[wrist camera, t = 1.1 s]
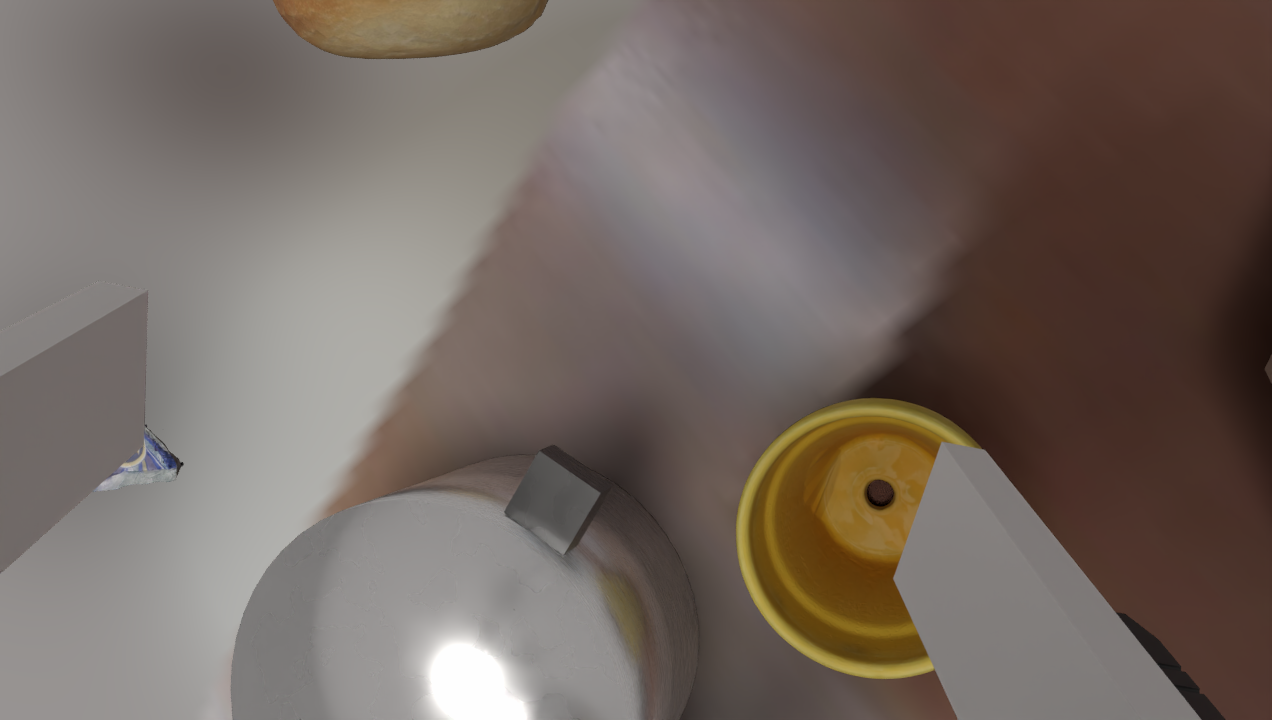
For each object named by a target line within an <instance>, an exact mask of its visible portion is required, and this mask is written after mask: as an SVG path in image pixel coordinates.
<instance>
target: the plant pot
mask: <svg viewBox="0 0 1272 720" xmlns="http://www.w3.org/2000/svg"><path fill="white" fill-rule="evenodd" d="M941 442H946V443H952V444H957V445H962V446H967V447H973V448H978V449H982V448H981V447H980V446H979V445H978V444H977V443H976V442H975V441H974V440H973V439H972V438H971V437H970V436H969V435H968V434H967V433H966V432H965V431H964V430H962V429H961V428H960V427H959V426H957V425H956V424H955V423H953V422H952V421H950V420H949V419H947V418H945V417H944V416H942V415H940V414H938V413H936V412H934V411H932V410H930V409H927V408H925V407H922V406H919V405H916V404H913V403H909V402H905V401H900V400H894V399H883V398H864V399H855V400H848V401H844V402H840V403H836V404H833V405H830V406H827V407H825V408H822V409H820V410H817V411H815V412H813V413H811V414H809V415H808V416H806V417H804V418H802V419H801V420H799V421H797V422H796V423H795V424H793V425H792V426H790V427H789V428H788V429H787V430H785V431H784V432H783V433H782V434H781V435H780V436H778V437H777V438H776V439H775V440H774V441H773V442H772V443H771V444H770V446H769V447H768V448H767V449H766V450H765V452H764V453H763V454H762V456H761V457H760V458H759V460H758V461H757V463H756V464H755V466H754V468H753V469H752V471H751V473H750V475H749V477H748V479H747V481H746V483H745V486H744V489H743V492H742V495H741V499H740V503H739V507H738V513H737V520H736V546H737V554H738V559H739V564H740V569H741V572H742V575H743V579H744V581H745V584H746V586H747V589H748V591H749V593H750V595H751V597H752V599H753V601H754V603H755V604H756V606H757V608H758V609H759V611H760V612H761V614H762V615H763V616H764V618H765V619H766V621H767V622H768V623H769V624H770V625H771V627H772V628H773V629H774V630H775V631H776V632H777V633H778V634H779V635H780V636H781V637H782V638H783V639H784V640H785V641H787V642H788V643H789V644H790V645H791V646H793V647H794V648H795V649H797V650H798V651H799V652H801V653H802V654H804V655H805V656H807V657H809V658H810V659H812V660H814V661H816V662H818V663H820V664H822V665H824V666H826V667H829V668H831V669H833V670H836V671H839V672H842V673H846V674H850V675H854V676H859V677H866V678H875V679H895V678H905V677H911V676H916V675H920V674H924V673H927V672H930V671H933V670H935V669H934V666H933V664H932V662H931V660H930V658H929V656H928V653H927V651H926V649H925V647H924V645H923V642H922V640H921V638H920V636H919V634H918V632H917V629H916V627H915V625H914V623H913V621H912V619H911V616H910V614H909V612H908V610H907V608H906V606H905V603H904V601H903V599H902V597H901V595H900V592H899V590H898V588H897V586H896V584H895V582H894V579H893V578H894V575H895V572H896V569H897V566H898V564H899V561H900V558H901V555H902V552H903V550H904V547H905V544H906V541H907V538H908V535H909V533H910V530H911V527H912V524H913V521H914V519H915V516H916V513H917V510H918V507H919V504H920V502H921V499H922V496H923V493H924V490H925V488H926V485H927V482H928V479H929V476H930V473H931V471H932V468H933V465H934V462H935V459H936V457H937V454H938V451H939V448H940V445H941ZM875 480H883V481H885V482H887V483H889V484H890V485H891V486H892V488H893V491H894V497H893V499H892V501H891V502H890V503H889V504H888V505H886V506H883V507H878V506H875V505H873V504H872V503H870V501H869V500H868V498H867V488H868V486H869V484H870V483H871V482H873V481H875Z"/></svg>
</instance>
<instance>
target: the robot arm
mask: <svg viewBox="0 0 1272 720" xmlns="http://www.w3.org/2000/svg"><path fill="white" fill-rule="evenodd" d="M147 307H148V290H144V289H139V288H133V287H128V286H123V285H118V284H112V283H107V282H102V281H97V282H95V283H93V284H91V285H89V286H87V287H85V288H83V289H82V290H80V291H78V292H76V293H74V294H72V295H70V296H68V297H66V298H64V299H62V300H60V301H58V302H56V303H54V304H52V305H50V306H49V307H46V308H44V309H42V310H40V311H39V312H36V313H35V314H33V315H31V316H29V317H27V318H25V319H23V320H21V321H19V322H17V323H15V324H13V325H12V326H9V327H7V328H5V329H3V330H1V331H0V574H1V572H3V571H4V570H5V569H6V568H7V567H8V566H10V565H11V564H12V563H13V562H14V561H15V560H16V559H17V558H19V557H20V556H21V555H22V554H23V553H24V552H25V551H26V550H27V549H29V548H30V547H31V546H32V545H33V544H34V543H35V542H36V541H37V540H39V539H40V538H41V537H42V536H43V535H44V534H45V533H46V532H48V531H49V530H50V529H51V528H52V527H53V526H54V525H55V524H56V523H58V522H59V521H60V520H61V519H62V518H63V517H64V516H65V515H67V514H68V513H69V512H70V511H71V510H72V509H73V508H74V507H75V506H77V505H78V504H79V503H80V502H81V501H82V500H83V499H84V498H85V497H87V496H88V495H89V494H90V493H91V492H92V491H93V490H94V489H96V488H97V487H98V486H99V485H100V484H101V483H102V482H103V481H104V480H106V479H107V478H108V477H109V476H110V475H111V474H112V473H113V472H114V471H116V470H117V469H118V468H119V467H120V466H121V465H122V464H123V463H125V462H126V461H127V460H128V459H129V458H130V457H131V456H132V455H133V454H135V453H136V452H137V451H138V450H139V449H140V448H141V447H142V446H143V445H144V423H145V385H146V349H147V311H148V310H147V309H148V308H147ZM893 579H894V582H895V584H896V586H897V588H898V590H899V592H900V595H901V597H902V599H903V601H904V603H905V606H906V608H907V610H908V612H909V614H910V616H911V619H912V621H913V623H914V625H915V627H916V629H917V632H918V634H919V636H920V638H921V640H922V642H923V645H924V647H925V649H926V651H927V653H928V656H929V658H930V660H931V662H932V664H933V666H934V669H935V671H936V673H937V675H938V677H939V679H940V682H941V684H942V686H943V688H944V690H945V693H946V695H947V697H948V699H949V701H950V703H951V706H952V708H953V710H954V712H955V714H956V716H957V719H958V720H1225V719H1224V717H1223V716H1222V715H1221V714H1220V713H1219V711H1218V710H1217V709H1216V708H1215V707H1214V705H1213V704H1212V703H1211V702H1210V701H1209V699H1208V698H1207V697H1206V696H1205V695H1204V694H1200V693H1199V690H1200V689H1199V687H1198V686H1197V685H1196V684H1195V683H1194V681H1193V680H1192V679H1191V678H1190V677H1189V675H1188V674H1187V673H1186V672H1182V671H1181V666H1180V665H1179V664H1178V662H1177V661H1176V660H1175V659H1174V658H1173V656H1172V655H1171V654H1170V653H1169V652H1168V650H1167V649H1166V648H1165V647H1164V646H1163V644H1162V643H1161V642H1160V641H1159V640H1158V639H1157V638H1156V637H1154V636H1153V635H1152V634H1150V633H1149V632H1148V631H1147V630H1145V629H1144V628H1143V627H1141V626H1140V625H1139V624H1138V623H1136V622H1135V621H1134V620H1132V619H1131V618H1130V617H1128V616H1127V615H1126V614H1122V613H1116V612H1115V611H1114V610H1113V609H1112V607H1111V606H1110V605H1109V604H1108V602H1107V601H1106V600H1105V599H1104V598H1103V596H1102V595H1101V594H1100V593H1099V591H1098V590H1097V589H1096V588H1095V586H1094V585H1093V584H1092V583H1091V581H1090V580H1089V579H1088V578H1087V576H1086V575H1085V574H1084V573H1083V571H1082V570H1081V569H1080V568H1079V566H1078V565H1077V564H1076V563H1075V561H1074V560H1073V559H1072V558H1071V556H1070V555H1069V554H1068V553H1067V551H1066V550H1065V549H1064V548H1063V546H1062V545H1061V544H1060V543H1059V541H1058V540H1057V539H1056V538H1055V536H1054V535H1053V534H1052V533H1051V531H1050V530H1049V529H1048V528H1047V526H1046V525H1045V524H1044V523H1043V521H1042V520H1041V519H1040V518H1039V517H1038V515H1037V514H1036V513H1035V512H1034V510H1033V509H1032V508H1031V507H1030V505H1029V504H1028V503H1027V502H1026V500H1025V499H1024V498H1023V497H1022V495H1021V494H1020V493H1019V492H1018V490H1017V489H1016V488H1015V487H1014V485H1013V484H1012V483H1011V482H1010V480H1009V479H1008V478H1007V477H1006V475H1005V474H1004V473H1003V472H1002V470H1001V469H1000V468H999V467H998V465H997V464H996V463H995V462H994V460H993V459H992V458H991V457H990V455H989V454H988V453H987V452H986V450H983V449H978V448H973V447H967V446H962V445H957V444H952V443H946V442H941V445H940V448H939V451H938V454H937V457H936V459H935V462H934V465H933V468H932V471H931V473H930V476H929V479H928V482H927V485H926V488H925V490H924V493H923V496H922V499H921V502H920V504H919V507H918V510H917V513H916V516H915V519H914V521H913V524H912V527H911V530H910V533H909V535H908V538H907V541H906V544H905V547H904V550H903V552H902V555H901V558H900V561H899V564H898V566H897V569H896V572H895V575H894V578H893Z"/></svg>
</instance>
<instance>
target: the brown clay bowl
mask: <svg viewBox="0 0 1272 720" xmlns="http://www.w3.org/2000/svg"><path fill="white" fill-rule="evenodd" d="M1265 371H1266V373H1267V375H1268V377H1269V379H1270V382H1271V384H1272V355H1271V357H1270V359H1269V361H1268V363H1267V365H1266V367H1265Z"/></svg>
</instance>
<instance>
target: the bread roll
mask: <svg viewBox="0 0 1272 720" xmlns="http://www.w3.org/2000/svg"><path fill="white" fill-rule="evenodd" d="M273 1H274V3H275V6H276V8H277V10H278V12H279V13H280V15H281V16H282V17H283V19H284V20H285V21H286V22H287V24H289V26H290V27H291V28H292V29H293V30H294V31H295V32H296V33H297V34H298V36H300V37H301V38H303V39H304V40H306V41H307V42H309V43H311V44H312V45H314V46H316V47H318V48H319V49H321V50H323V51H326V52H329V53H332V54H335V55H339V56H344V57H353V58H365V59H406V58H426V57H439V56H447V55H455V54H462V53H467V52H472V51H477V50H481V49H485V48H489V47H492V46H495V45H498V44H500V43H502V42H505V41H507V40H509V39H510V38H512V37H514V36H516V35H518V34H520V33H522V32H524V31H525V30H526V29H528V28H529V27H530V26H532V25H533V23H534V22H535V20H536V19H538V18H539V17H540V16H541V15H542V13H543V11H544V9H545V7H546V4H547V2H548V0H273Z"/></svg>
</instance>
